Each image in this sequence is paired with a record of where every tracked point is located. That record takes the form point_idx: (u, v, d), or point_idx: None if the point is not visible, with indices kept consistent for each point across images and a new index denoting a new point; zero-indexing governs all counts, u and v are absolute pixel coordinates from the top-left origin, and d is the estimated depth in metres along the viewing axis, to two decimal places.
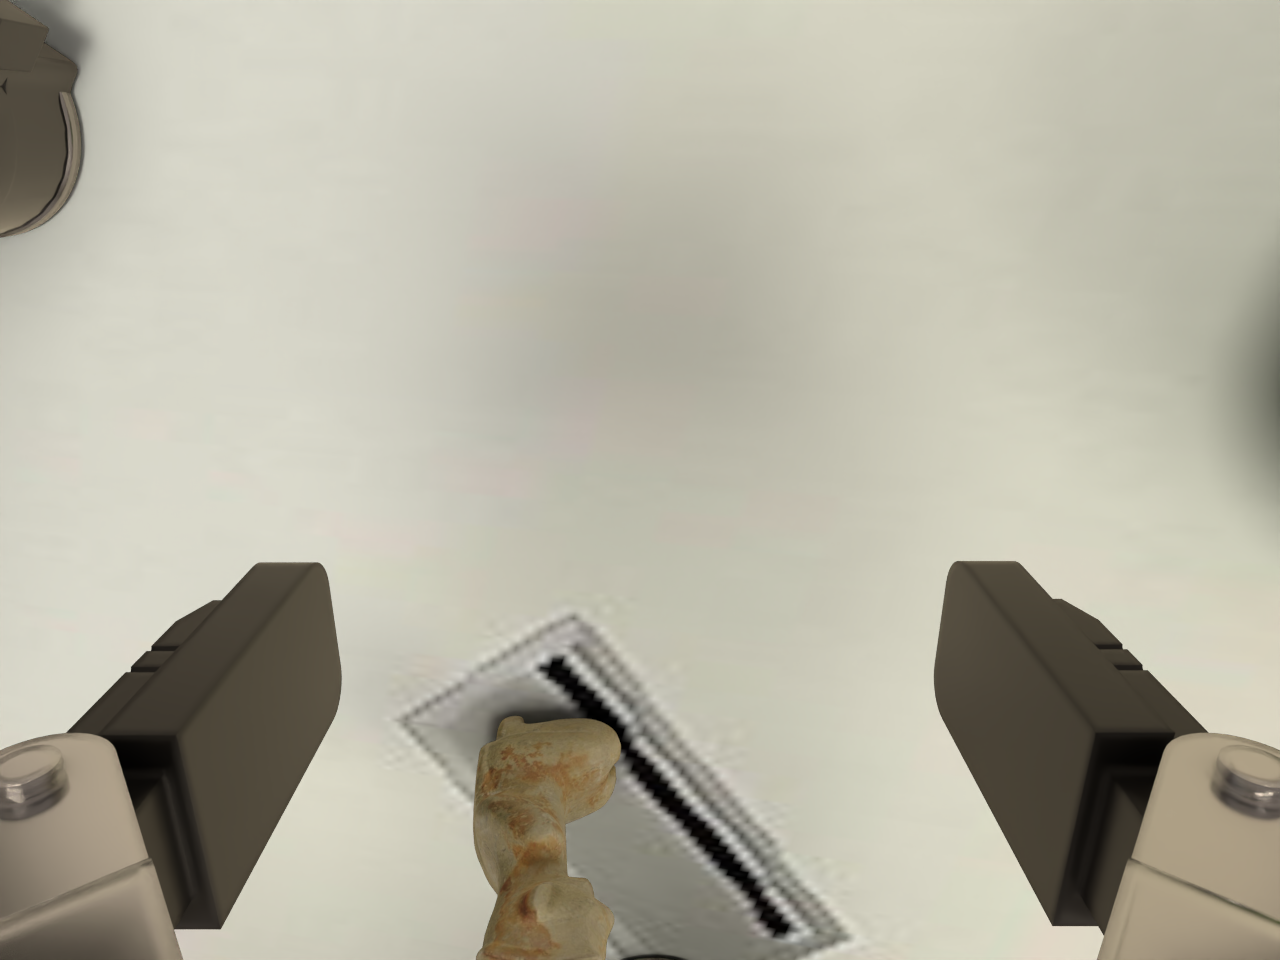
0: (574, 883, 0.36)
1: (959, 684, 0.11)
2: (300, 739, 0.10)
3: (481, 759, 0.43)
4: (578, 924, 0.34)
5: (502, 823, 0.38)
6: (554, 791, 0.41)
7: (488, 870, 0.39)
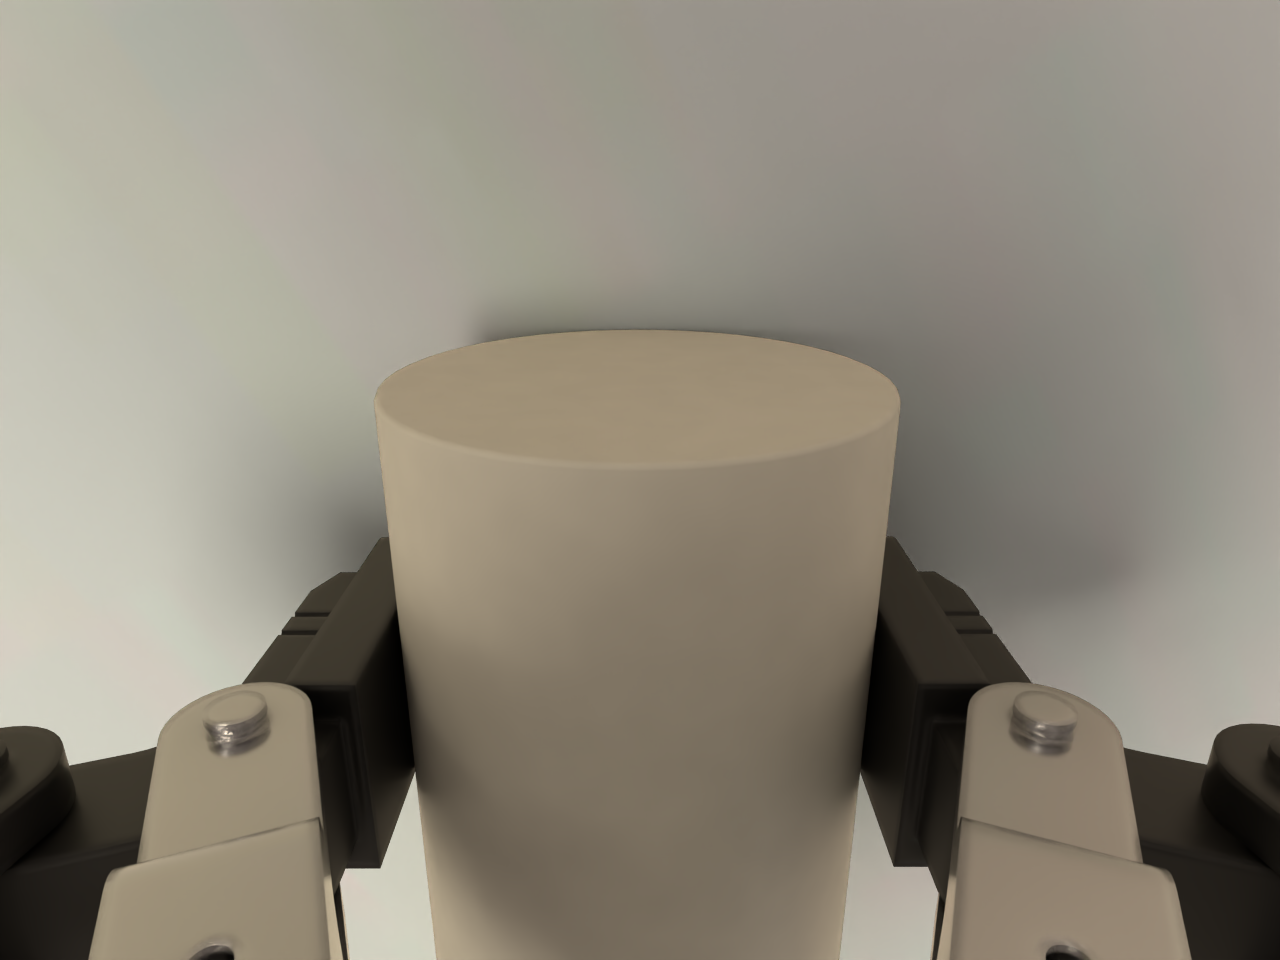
0: None
1: None
2: None
3: None
4: None
5: None
6: None
7: None
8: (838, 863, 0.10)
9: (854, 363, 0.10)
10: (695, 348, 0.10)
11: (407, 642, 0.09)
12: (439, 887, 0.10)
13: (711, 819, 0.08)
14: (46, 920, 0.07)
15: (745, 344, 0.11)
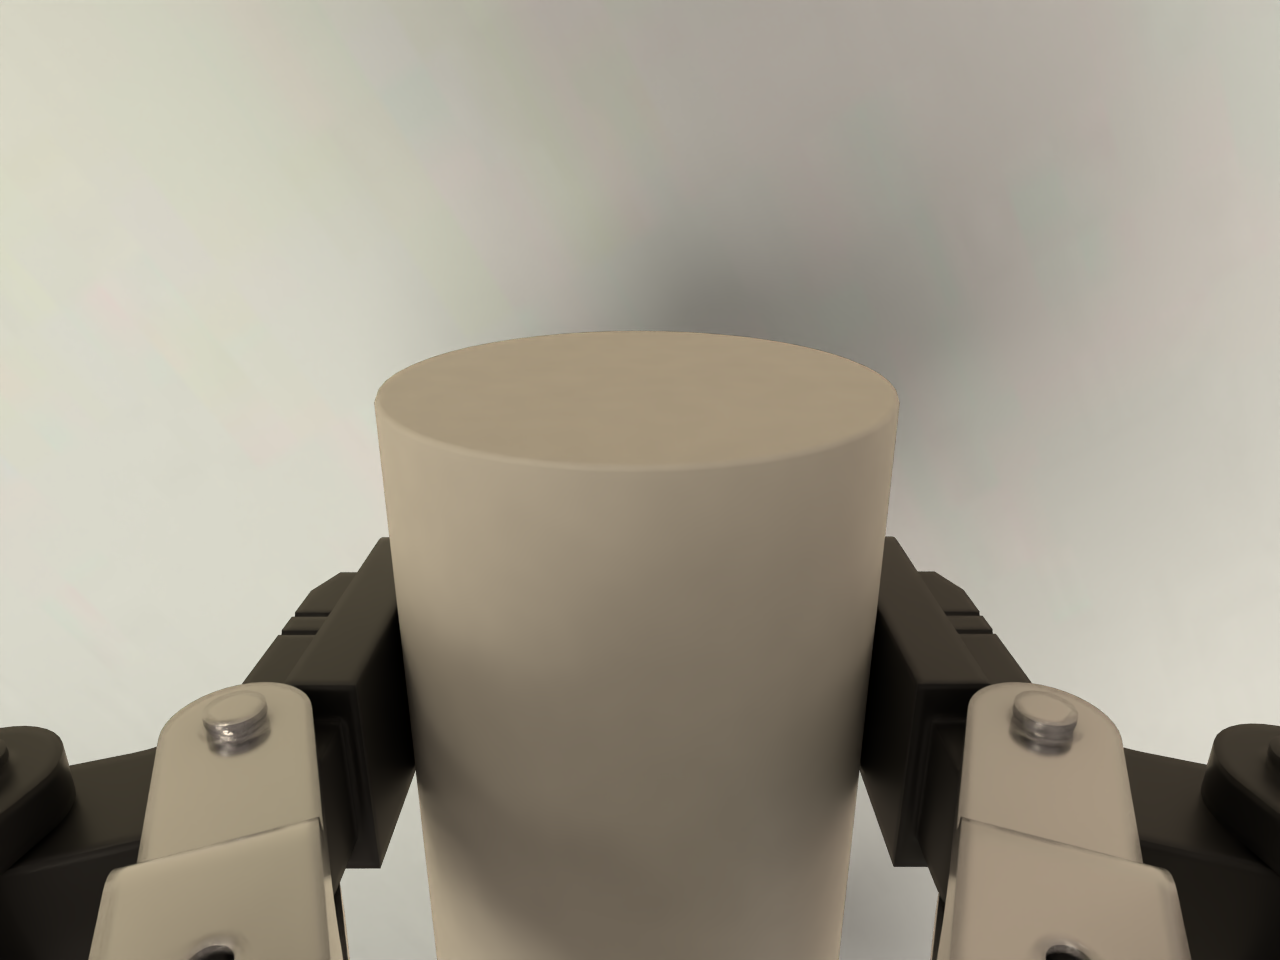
0: None
1: None
2: None
3: None
4: None
5: None
6: None
7: None
8: (837, 863, 0.10)
9: (853, 364, 0.10)
10: (695, 349, 0.10)
11: (408, 643, 0.09)
12: (440, 887, 0.10)
13: (710, 819, 0.08)
14: (46, 919, 0.07)
15: (744, 345, 0.11)
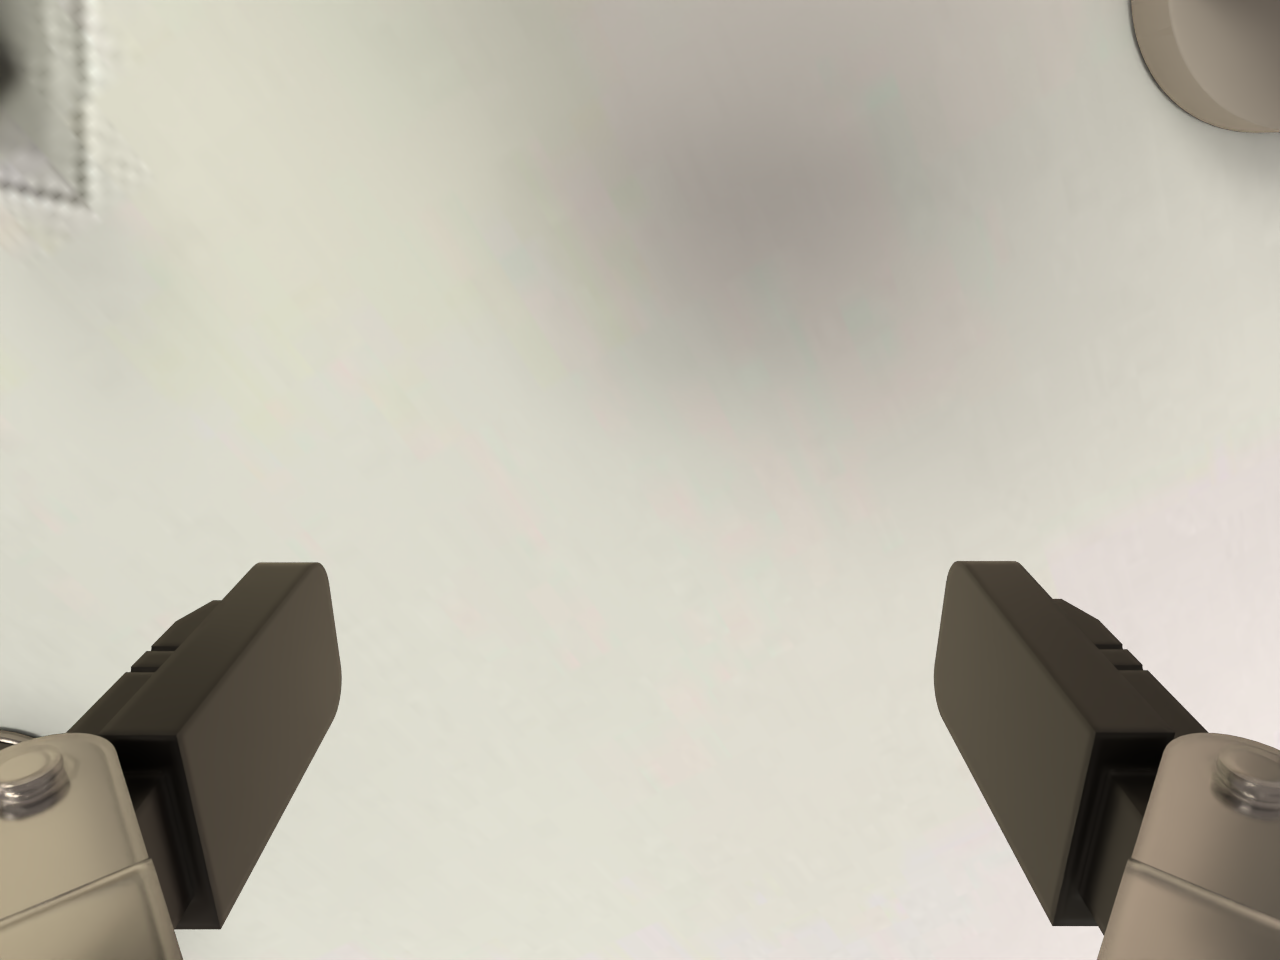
0: None
1: (959, 684, 0.11)
2: (301, 739, 0.10)
3: None
4: None
5: None
6: None
7: None
8: None
9: None
10: None
11: None
12: None
13: None
14: None
15: None
